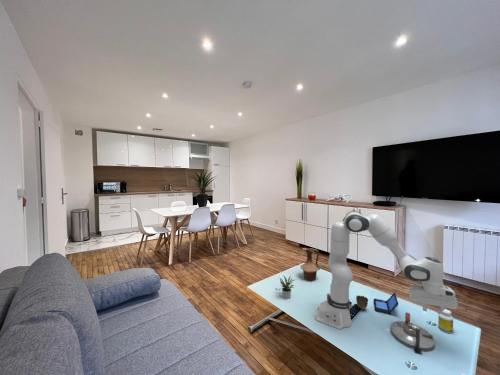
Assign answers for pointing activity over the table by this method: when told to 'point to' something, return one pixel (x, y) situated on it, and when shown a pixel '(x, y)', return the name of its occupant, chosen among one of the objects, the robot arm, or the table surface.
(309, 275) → the pitcher
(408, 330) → the cover
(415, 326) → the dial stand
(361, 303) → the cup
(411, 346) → the turntable base
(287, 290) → the house plant
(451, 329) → the pill bottle
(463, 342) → the table surface
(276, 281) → the table surface
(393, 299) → the handheld game console
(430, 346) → the turntable
